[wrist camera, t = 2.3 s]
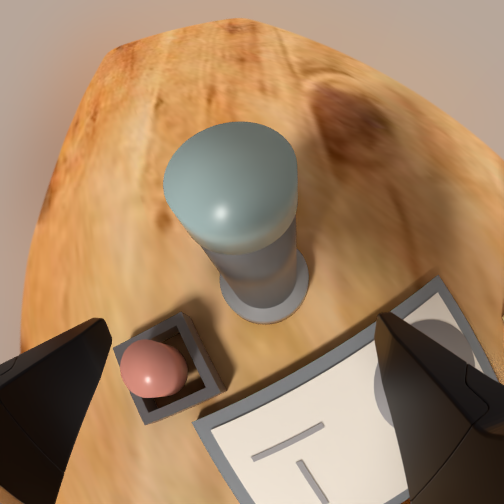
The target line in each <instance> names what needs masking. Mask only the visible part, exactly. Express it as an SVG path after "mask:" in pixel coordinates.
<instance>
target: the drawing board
mask: <svg viewBox="0 0 504 504" xmlns="http://www.w3.org/2000/svg"><path fill="white" fill-rule="evenodd" d="M390 312H392V313H393V314H395V315H397V316H398V317H400V318H401V319H403V320H404V321H406V322H407V323H409V324H410V325H412V326H413V327H415V328H416V329H418V330H419V331H421V332H423V333H424V334H426V335H427V336H429V337H430V338H432V339H433V340H435V341H436V342H438V343H439V344H441V345H442V346H444V347H445V348H447V349H448V350H450V351H451V352H453V353H454V354H456V355H457V356H459V357H460V358H461V359H463V360H464V361H466V362H467V364H468V363H469V364H470V365H472V366H473V367H475V368H476V369H478V370H479V371H481V372H482V373H484V374H486V375H487V376H489V377H490V378H492V379H494V380H495V381H497V382H499V381H498V379H497V377H496V375H495V373H494V371H493V369H492V367H491V365H490V363H489V361H488V359H487V357H486V355H485V353H484V351H483V349H482V347H481V345H480V343H479V341H478V340H477V338H476V336H475V334H474V332H473V330H472V329H471V327H470V325H469V323H468V322H467V320H466V318H465V317H464V315H463V313H462V311H461V310H460V308H459V306H458V305H457V303H456V302H455V300H454V298H453V297H452V295H451V294H450V292H449V290H448V289H447V287H446V286H445V284H444V283H443V281H442V280H441V278H440V277H439V275H437V276H436V277H435V278H433V279H432V280H431V281H430V282H428V283H427V284H426V285H425V286H423V287H422V288H421V289H419V290H418V291H417V292H416V293H414V294H413V295H412V296H410V297H409V298H408V299H406V300H405V301H404V302H402V303H401V304H400V305H398V306H397V307H396V308H394V309H393V310H391V311H390ZM375 328H376V322H374V323H373V324H371V325H370V326H368V327H367V328H365V329H364V330H362V331H361V332H359V333H358V334H356V335H355V336H353V337H352V338H350V339H349V340H347V341H346V342H344V343H342V344H341V345H339V346H338V347H336V348H335V349H333V350H331V351H330V352H328V353H326V354H325V355H323V356H321V357H320V358H318V359H316V360H315V361H313V362H311V363H310V364H308V365H306V366H304V367H303V368H301V369H299V370H297V371H296V372H294V373H292V374H290V375H288V376H287V377H285V378H283V379H281V380H279V381H277V382H276V383H274V384H272V385H270V386H268V387H266V388H264V389H262V390H260V391H258V392H256V393H254V394H252V395H250V396H248V397H246V398H244V399H242V400H240V401H238V402H236V403H234V404H232V405H230V406H228V407H225V408H223V409H221V410H219V411H217V412H214V413H212V414H210V415H208V416H205V417H203V418H201V419H198V420H196V421H194V422H192V424H193V426H194V428H195V430H196V431H197V433H198V435H199V437H200V439H201V440H202V442H203V444H204V446H205V448H206V449H207V451H208V453H209V455H210V456H211V458H212V460H213V461H214V463H215V465H216V466H217V468H218V470H219V471H220V473H221V475H222V476H223V478H224V480H225V481H226V483H227V484H228V486H229V487H230V489H231V490H232V492H233V494H234V495H235V497H236V498H237V500H238V501H239V503H240V504H400V503H402V502H404V501H405V500H407V499H408V498H410V497H409V491H408V486H407V481H406V476H405V472H404V467H403V463H402V458H401V454H400V450H399V445H398V441H397V437H396V433H395V429H394V425H393V422H392V418H391V414H390V410H389V407H388V403H387V399H386V396H385V392H384V389H383V385H382V381H381V375H380V369H379V363H378V358H377V352H376V347H375V341H374V334H375Z"/></svg>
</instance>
